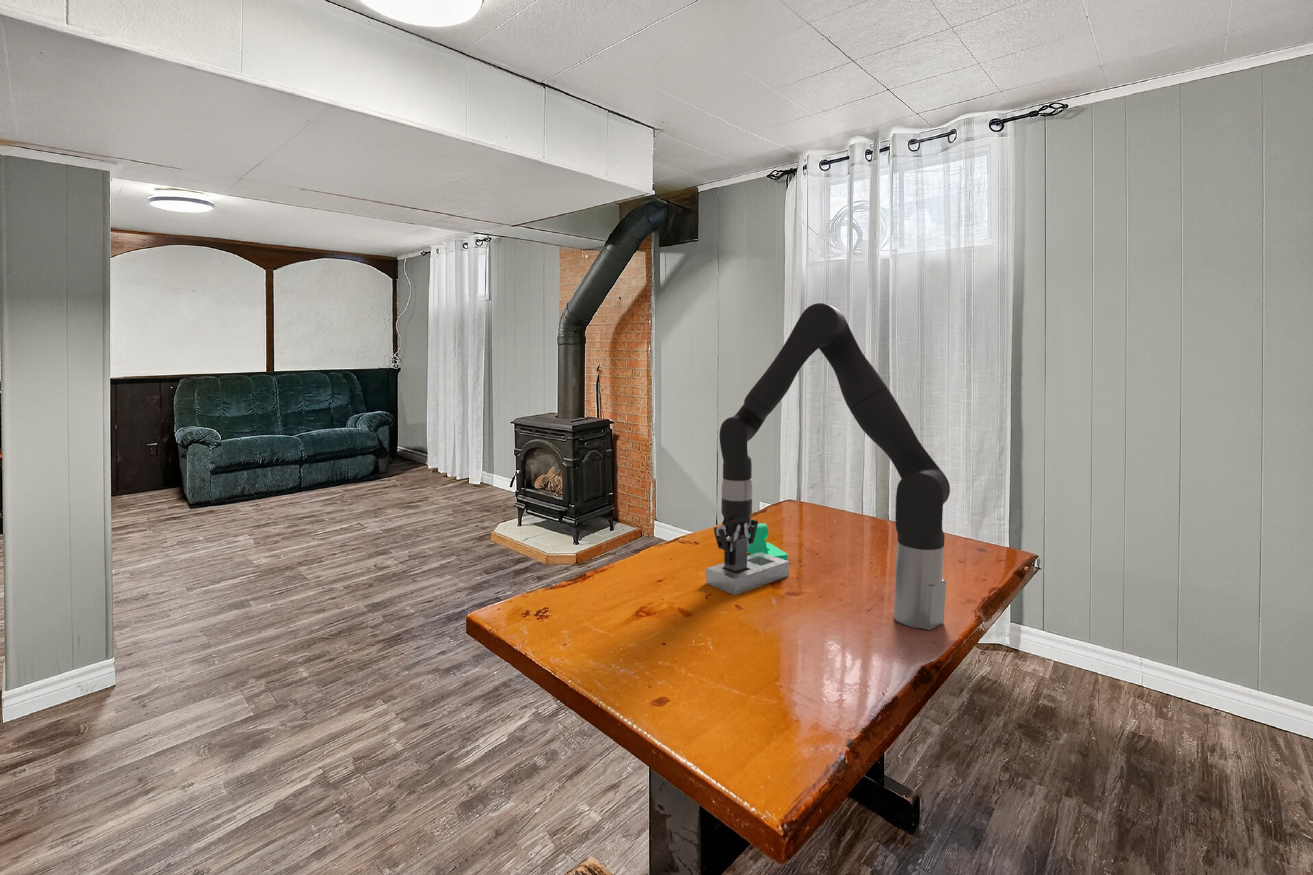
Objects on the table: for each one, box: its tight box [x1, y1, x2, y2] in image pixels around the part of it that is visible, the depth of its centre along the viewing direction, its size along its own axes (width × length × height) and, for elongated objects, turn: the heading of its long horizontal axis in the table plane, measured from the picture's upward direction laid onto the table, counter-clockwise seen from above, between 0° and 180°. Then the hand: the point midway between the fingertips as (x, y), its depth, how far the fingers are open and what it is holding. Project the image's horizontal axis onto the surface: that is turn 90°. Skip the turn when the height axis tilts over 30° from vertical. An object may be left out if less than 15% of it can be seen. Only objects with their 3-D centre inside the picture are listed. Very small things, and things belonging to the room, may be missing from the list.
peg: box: [723, 536, 748, 574], centre depth 157 cm, size 4×4×10 cm
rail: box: [705, 552, 790, 596], centre depth 160 cm, size 10×20×4 cm, turn 129°
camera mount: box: [747, 522, 788, 561], centre depth 177 cm, size 12×8×10 cm, turn 19°
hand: (735, 562), depth 157 cm, fingers closed on peg, 4 cm apart
